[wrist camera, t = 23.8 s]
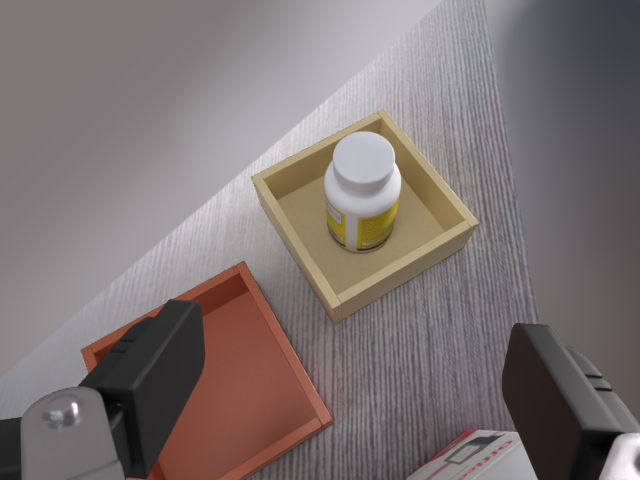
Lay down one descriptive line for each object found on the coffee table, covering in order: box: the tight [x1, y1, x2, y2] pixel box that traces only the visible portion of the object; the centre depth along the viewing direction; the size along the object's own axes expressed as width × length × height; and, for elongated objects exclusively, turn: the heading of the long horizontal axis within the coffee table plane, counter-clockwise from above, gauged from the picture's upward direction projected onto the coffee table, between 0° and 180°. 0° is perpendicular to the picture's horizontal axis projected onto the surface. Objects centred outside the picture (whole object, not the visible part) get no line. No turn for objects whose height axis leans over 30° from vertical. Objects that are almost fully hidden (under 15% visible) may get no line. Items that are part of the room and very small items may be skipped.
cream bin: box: [251, 109, 479, 325], centre depth 36 cm, size 12×12×5 cm
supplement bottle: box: [324, 132, 401, 253], centre depth 33 cm, size 5×5×10 cm
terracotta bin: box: [81, 261, 334, 480], centre depth 31 cm, size 12×12×5 cm
